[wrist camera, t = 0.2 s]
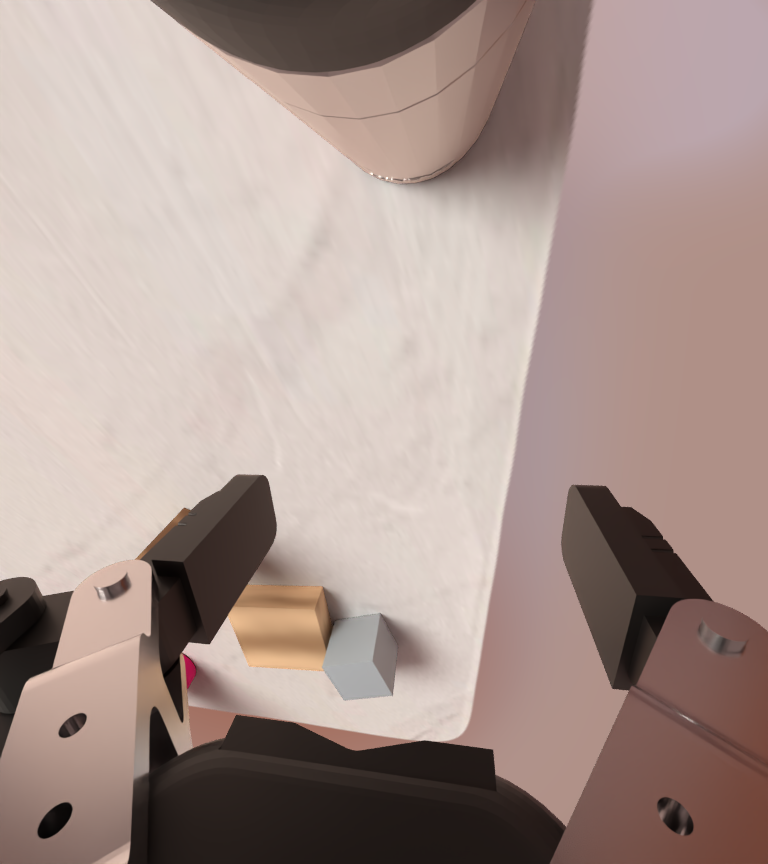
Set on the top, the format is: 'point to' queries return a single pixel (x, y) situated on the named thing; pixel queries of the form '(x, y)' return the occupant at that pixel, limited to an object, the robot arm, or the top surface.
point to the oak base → (282, 626)
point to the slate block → (361, 657)
